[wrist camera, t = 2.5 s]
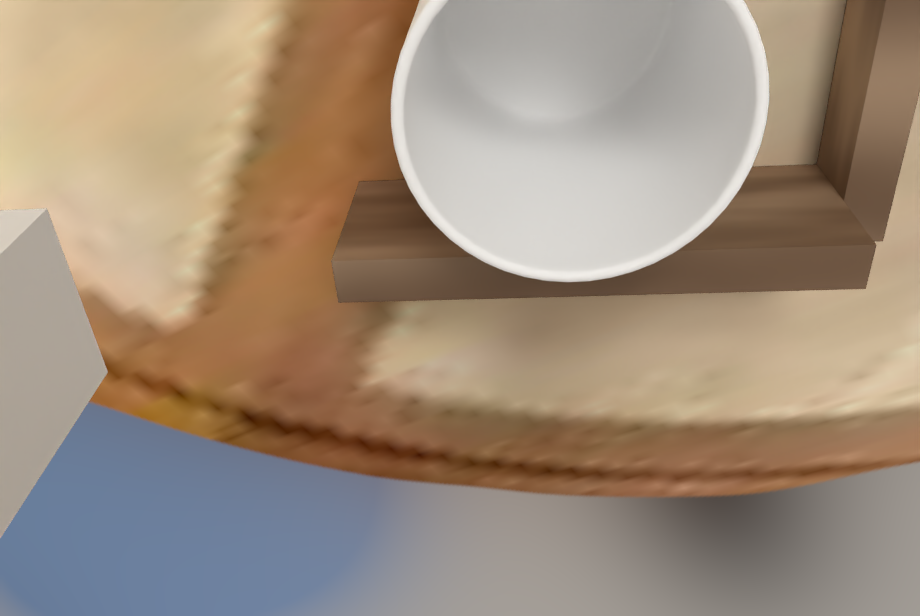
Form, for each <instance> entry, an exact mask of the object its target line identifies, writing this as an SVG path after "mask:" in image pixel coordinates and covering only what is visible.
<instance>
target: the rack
mask: <svg viewBox="0 0 920 616" xmlns="http://www.w3.org/2000/svg"><path fill="white" fill-rule="evenodd" d="M919 92H920V0H847V4H846V9H845V15H844V20H843V25H842V31H841V36H840V42H839V47H838V52H837V58H836V63H835V69H834V74H833V79H832V85H831V90H830V95H829V101H828V106H827V112H826V117H825V122H824V128H823V133H822V139H821V144H820V149H819V155H818V160H817V164H815V165H788V166H762V167H752V168H751V170H750V172H749V173H748V175H747V177H746V179H745V181H744V182H743V184H742V186H741V188H740V189H739V191H738V192H737V194H736V195H735V196H734V198H733V199H732V200H731V202H730V203H729V205H728V206H727V207H726V209H725V210H724V211H723V212H722V213H721V214H720V215H719V216H718V217H717V218H716V219H715V220H714V222H713V223H712V224H711V225H710V226H709V227H707V228H706V229H705V230H704V231H703V232H702V233H700V234H699V235H698V236H697V237H696V238H695V239H693V240H692V241H691V242H689V243H688V244H686V245H685V246H683V247H682V248H680V249H679V250H677V251H676V252H674V253H673V254H671V255H669V256H667V257H665V258H663V259H661V260H659V261H658V262H656V263H654V264H651V265H649V266H646V267H644V268H641V269H639V270H636V271H633V272H630V273H626V274H623V275H619V276H616V277H612V278H606V279H600V280H594V281H582V282H557V281H545V280H539V279H533V278H527V277H523V276H520V275H516V274H513V273H509V272H506V271H503V270H501V269H499V268H496V267H494V266H492V265H489V264H487V263H485V262H483V261H481V260H480V259H478V258H476V257H474V256H473V255H471V254H469V253H468V252H466V251H465V250H463V249H462V248H461V247H459V246H458V245H457V244H455V243H454V242H453V241H451V240H450V239H449V238H448V237H447V236H446V235H445V234H444V233H443V232H442V231H441V230H440V229H439V228H438V227H437V226H436V225H435V224H434V223H433V222H432V221H431V220H430V218H429V217H428V216H427V215H426V213H425V212H424V211H423V210H422V208H421V207H420V205H419V204H418V202H417V201H416V199H415V197H414V196H413V194H412V192H411V191H410V189H409V187H408V185H407V182H406V180H387V181H361V182H359V184H358V186H357V189H356V192H355V195H354V198H353V201H352V204H351V206H350V209H349V212H348V215H347V218H346V221H345V224H344V226H343V229H342V232H341V235H340V238H339V241H338V244H337V246H336V249H335V252H334V255H333V258H332V261H331V262H332V268H333V274H334V280H335V285H336V291H337V297H338V303H341V302H379V301H417V300H455V299H494V298H532V297H570V296H608V295H646V294H684V293H722V292H761V291H799V290H837V289H866V285H867V281H868V277H869V273H870V269H871V265H872V260H873V256H874V252H875V248H876V244H875V242H874V241H883V238H884V234H885V230H886V226H887V222H888V218H889V214H890V210H891V206H892V202H893V198H894V194H895V189H896V185H897V181H898V177H899V173H900V169H901V165H902V161H903V157H904V153H905V149H906V145H907V141H908V137H909V133H910V128H911V124H912V120H913V116H914V112H915V108H916V104H917V100H918V96H919Z"/></svg>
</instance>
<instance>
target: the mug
mask: <svg viewBox="0 0 920 616" xmlns="http://www.w3.org/2000/svg"><path fill="white" fill-rule="evenodd" d="M768 106H769V72H768V66H767V60H766V54H765V49H764V46H763V43H762V40H761V36H760V33H759V30H758V27H757V25H756V23H755V21H754V19H753V17H752V15H751V13H750V11H749V9H748V7H747V5H746V3H745V2H744V0H420V1H419V3H418V6H417V9H416V12H415V15H414V18H413V20H412V23H411V25H410V28H409V31H408V34H407V37H406V40H405V42H404V45H403V48H402V50H401V53H400V56H399V60H398V64H397V67H396V71H395V75H394V80H393V88H392V96H391V128H392V135H393V142H394V148H395V151H396V155H397V158H398V162H399V165H400V168H401V171H402V173H403V175H404V178H405V180H406V182H407V185H408V187H409V189H410V191H411V192H412V194H413V196H414V197H415V199H416V201H417V202H418V204H419V205H420V207H421V208H422V210H423V211H424V212H425V213H426V215H427V216H428V217H429V218H430V220H431V221H432V222H433V223H434V224H435V225H436V226H437V227H438V228H439V229H440V230H441V231H442V232H443V233H444V234H445V235H446V236H447V237H448V238H449V239H450V240H451V241H453V242H454V243H455V244H457V245H458V246H459V247H461V248H462V249H463V250H465V251H466V252H468V253H469V254H471V255H473V256H474V257H476V258H478V259H480V260H481V261H483V262H485V263H487V264H489V265H492V266H494V267H496V268H499V269H501V270H503V271H506V272H509V273H513V274H516V275H520V276H523V277H527V278H533V279H539V280H545V281H557V282H582V281H594V280H600V279H606V278H612V277H616V276H619V275H623V274H626V273H630V272H633V271H636V270H639V269H641V268H644V267H646V266H649V265H651V264H654V263H656V262H658V261H659V260H661V259H663V258H665V257H667V256H669V255H671V254H673V253H674V252H676V251H677V250H679V249H680V248H682V247H683V246H685V245H686V244H688V243H689V242H691V241H692V240H693V239H695V238H696V237H697V236H698V235H699V234H700V233H702V232H703V231H704V230H705V229H706V228H707V227H709V226H710V225H711V224H712V223H713V222H714V220H715V219H716V218H717V217H718V216H719V215H720V214H721V213H722V212H723V211H724V210H725V209H726V207H727V206H728V205H729V203H730V202H731V200H732V199H733V198H734V196H735V195H736V194H737V192H738V191H739V189H740V188H741V186H742V184H743V182H744V181H745V179H746V177H747V175H748V173H749V172H750V170H751V168H752V165H753V163H754V160H755V158H756V155H757V153H758V150H759V148H760V145H761V142H762V138H763V134H764V130H765V126H766V122H767V114H768Z"/></svg>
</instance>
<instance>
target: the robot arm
mask: <svg viewBox="0 0 920 616" xmlns="http://www.w3.org/2000/svg"><path fill="white" fill-rule="evenodd" d="M107 373H108V371H107V369H106V366H105V363H104V361H103V358H102V355H101V353H100V350H99V347H98V345H97V342H96V339H95V337H94V334H93V331H92V328H91V326H90V323H89V320H88V318H87V315H86V312H85V310H84V307H83V304H82V302H81V299H80V296H79V293H78V291H77V288H76V285H75V283H74V280H73V277H72V275H71V272H70V269H69V267H68V264H67V261H66V258H65V256H64V253H63V250H62V248H61V245H60V242H59V240H58V237H57V234H56V232H55V229H54V226H53V224H52V221H51V218H50V215H49V213H48V210H47V208H46V209H20V210H0V538H1V536H2V535H3V533H4V532H5V530H6V529H7V527H8V526H9V524H10V522H11V521H12V519H13V518H14V516H15V515H16V513H17V511H18V510H19V509H20V507H21V505H22V504H23V502H24V501H25V499H26V498H27V496H28V495H29V493H30V491H31V490H32V488H33V487H34V485H35V484H36V482H37V481H38V479H39V478H40V476H41V474H42V473H43V471H44V470H45V468H46V467H47V465H48V464H49V462H50V460H51V459H52V457H53V456H54V454H55V453H56V451H57V450H58V448H59V447H60V445H61V443H62V442H63V441H64V439H65V437H66V436H67V434H68V433H69V431H70V430H71V428H72V427H73V425H74V424H75V422H76V420H77V419H78V417H79V416H80V414H81V412H82V411H83V409H84V408H85V407H86V405H87V403H88V402H89V400H90V399H91V397H92V396H93V394H94V393H95V391H96V390H97V388H98V386H99V385H100V383H101V382H102V380H103V379H104V377H105V376H106V374H107Z"/></svg>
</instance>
